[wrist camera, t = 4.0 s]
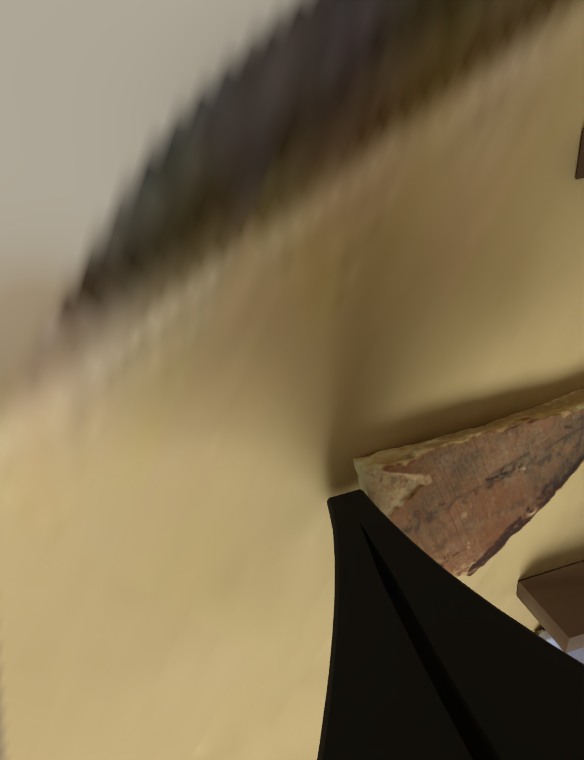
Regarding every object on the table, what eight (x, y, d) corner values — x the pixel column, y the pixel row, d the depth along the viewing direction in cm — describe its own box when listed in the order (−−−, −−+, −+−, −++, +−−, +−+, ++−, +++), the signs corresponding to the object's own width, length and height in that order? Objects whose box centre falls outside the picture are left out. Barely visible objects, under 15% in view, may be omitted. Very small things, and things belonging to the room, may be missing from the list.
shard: (604, 372, 11) (666, 388, 10) (574, 511, 14) (619, 543, 12) (346, 442, 11) (365, 473, 9) (368, 574, 13) (385, 616, 12)
